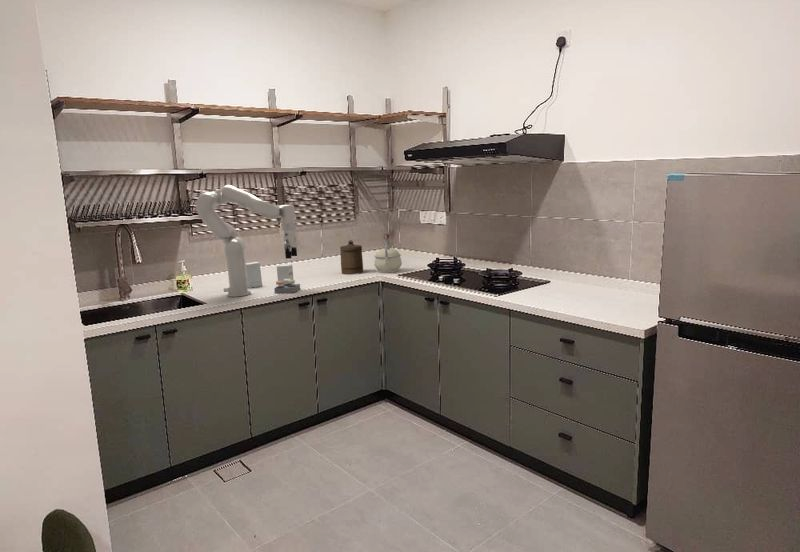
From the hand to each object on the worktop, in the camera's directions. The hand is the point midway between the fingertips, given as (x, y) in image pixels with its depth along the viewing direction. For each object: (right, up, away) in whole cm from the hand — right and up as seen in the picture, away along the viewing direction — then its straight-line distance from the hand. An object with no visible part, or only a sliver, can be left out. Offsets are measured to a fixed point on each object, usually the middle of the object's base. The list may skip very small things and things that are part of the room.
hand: (291, 257), depth 295 cm
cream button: (-4, -14, +5) cm, 15 cm away
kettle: (+54, -8, +56) cm, 78 cm away
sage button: (0, -15, 0) cm, 15 cm away
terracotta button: (-6, -15, -1) cm, 17 cm away
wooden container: (+29, -9, +61) cm, 68 cm away
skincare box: (-27, -17, +24) cm, 40 cm away
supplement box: (-8, -17, +22) cm, 28 cm away
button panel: (-3, -19, +3) cm, 20 cm away
